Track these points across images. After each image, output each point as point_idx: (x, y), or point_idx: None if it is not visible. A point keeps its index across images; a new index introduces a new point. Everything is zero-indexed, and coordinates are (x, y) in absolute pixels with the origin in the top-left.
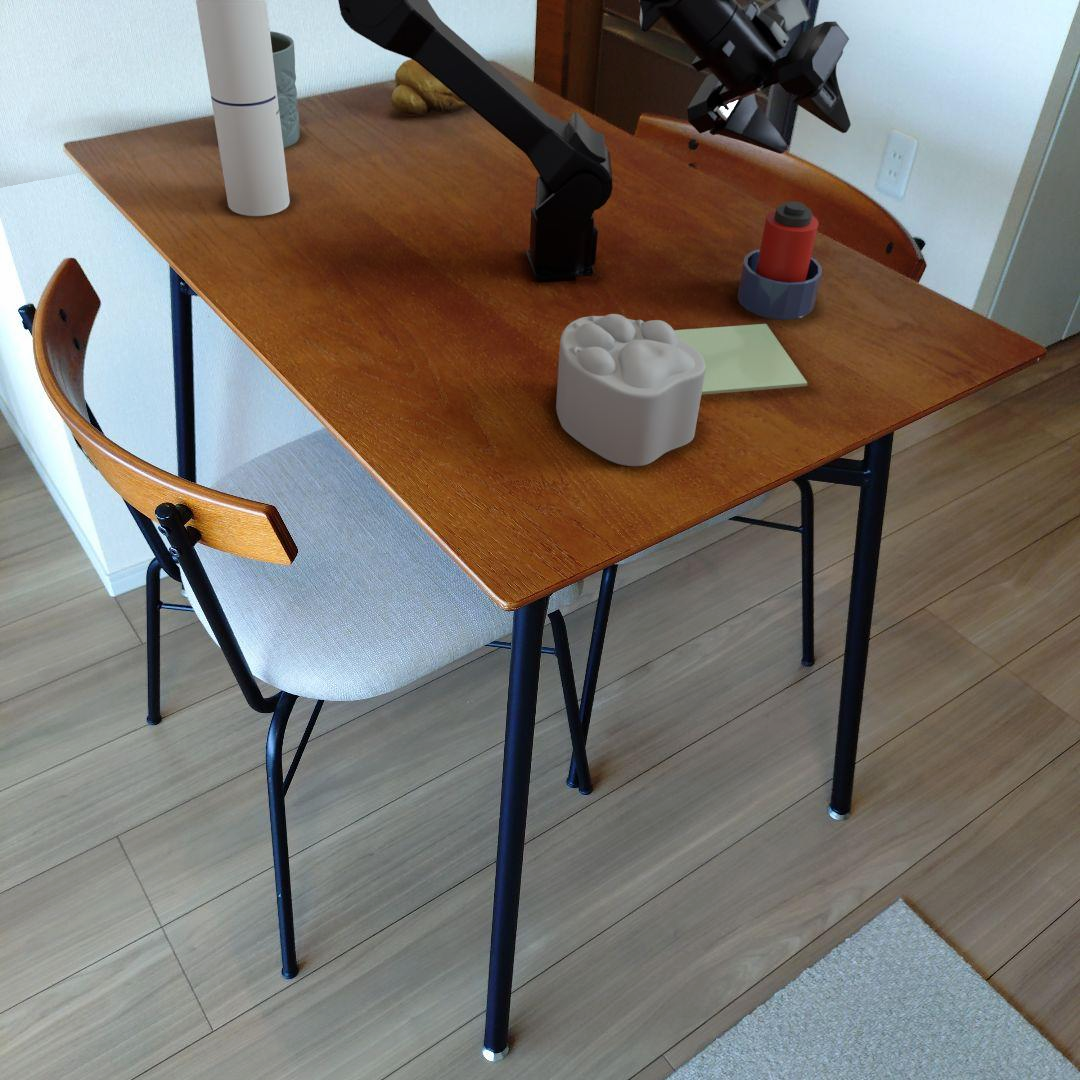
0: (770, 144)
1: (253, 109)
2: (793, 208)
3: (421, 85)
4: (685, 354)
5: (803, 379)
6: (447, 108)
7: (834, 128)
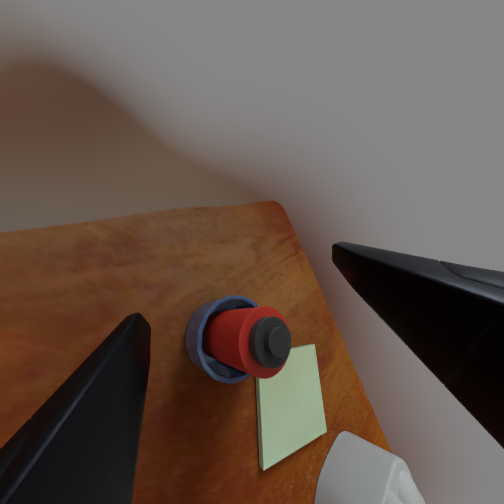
0: (145, 372)
1: None
2: (287, 348)
3: None
4: (414, 486)
5: (312, 346)
6: None
7: (349, 282)
